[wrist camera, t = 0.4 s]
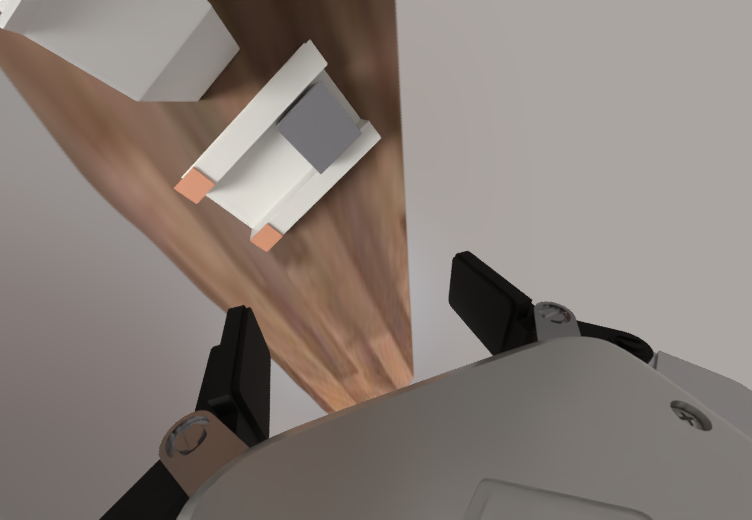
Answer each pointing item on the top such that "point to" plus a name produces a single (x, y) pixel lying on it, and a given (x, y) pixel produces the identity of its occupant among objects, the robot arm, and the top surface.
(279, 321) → the top surface
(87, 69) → the milk carton
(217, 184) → the chute
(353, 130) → the block
